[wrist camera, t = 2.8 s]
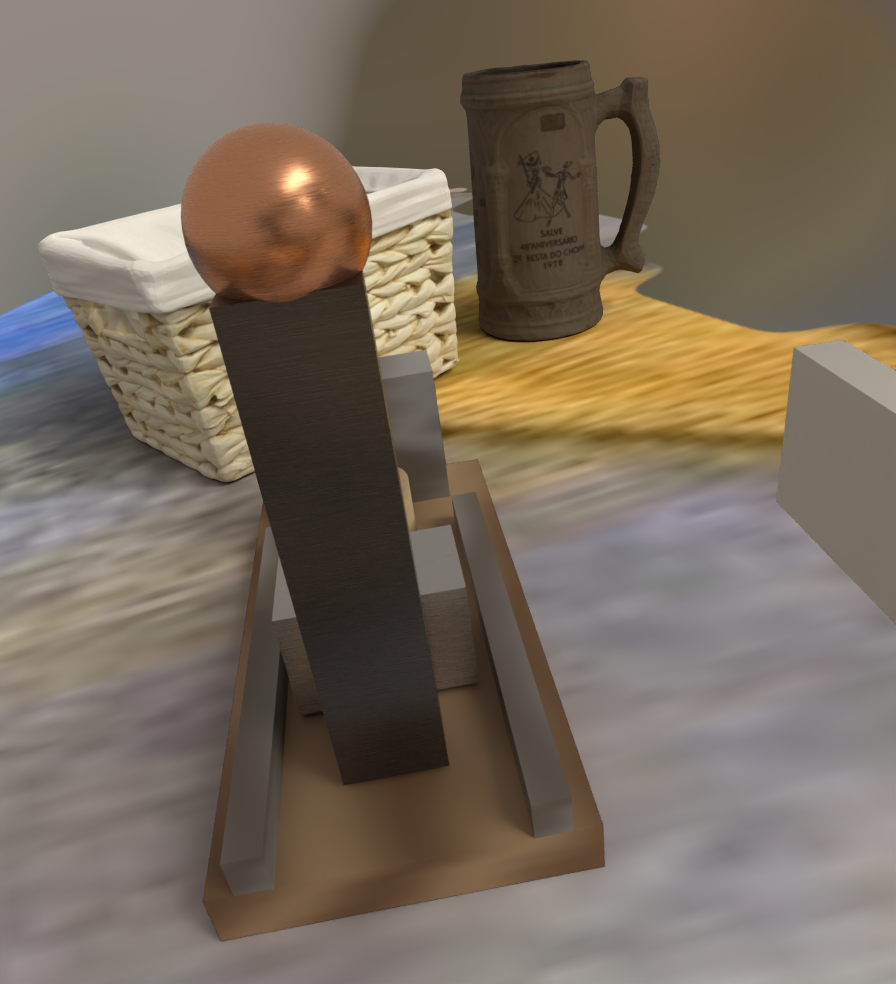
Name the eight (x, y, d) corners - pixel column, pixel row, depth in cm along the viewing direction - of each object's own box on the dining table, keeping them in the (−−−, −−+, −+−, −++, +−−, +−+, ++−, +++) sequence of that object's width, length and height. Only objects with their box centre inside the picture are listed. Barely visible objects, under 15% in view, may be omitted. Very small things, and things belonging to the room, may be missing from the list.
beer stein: (487, 352, 64) (478, 70, 54) (458, 314, 73) (446, 67, 63) (667, 330, 66) (690, 55, 56) (617, 295, 75) (629, 54, 65)
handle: (463, 614, 33) (387, 88, 23) (498, 767, 26) (411, 109, 16) (303, 642, 32) (157, 122, 22) (295, 806, 25) (79, 159, 16)
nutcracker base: (481, 489, 46) (463, 340, 41) (604, 866, 25) (596, 649, 20) (272, 525, 45) (231, 377, 40) (220, 941, 24) (124, 734, 20)
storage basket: (212, 506, 48) (134, 262, 41) (101, 440, 59) (22, 237, 51) (482, 368, 62) (460, 166, 54) (351, 335, 72) (318, 162, 65)
